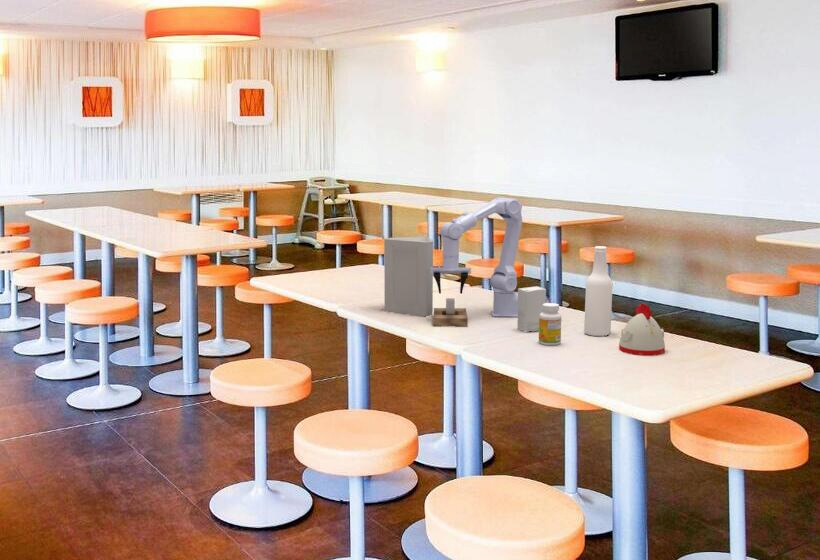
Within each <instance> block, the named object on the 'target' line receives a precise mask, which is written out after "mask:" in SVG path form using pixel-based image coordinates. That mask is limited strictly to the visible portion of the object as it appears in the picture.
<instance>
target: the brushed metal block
mask: <svg viewBox="0 0 820 560" xmlns="http://www.w3.org/2000/svg"><path fill="white" fill-rule="evenodd" d="M455 301H456V300H455V298H451V297H450V298H447V297H446V298H445V308H446V315H454V312H455V308H456V307H455V306H456V305H455V304H456V303H455Z"/></svg>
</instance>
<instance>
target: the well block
mask: <svg viewBox="0 0 820 560" xmlns="http://www.w3.org/2000/svg"><path fill="white" fill-rule="evenodd" d="M468 324H469V323H468V312H467V308H466V307H465V308H463V307H460V308H459V307H455V312H454V315H446V307H433V327H441V326H455V327H454V328H456V327H459V328H461V327H463V328H465V327H466V328H468Z"/></svg>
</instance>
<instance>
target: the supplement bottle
mask: <svg viewBox="0 0 820 560" xmlns="http://www.w3.org/2000/svg"><path fill="white" fill-rule="evenodd" d="M542 310H543V312H542V313H540V315H539V331H538V343H539V344H540V345H542V346H543V345H544V346H558V345H560V344H561V342H562V315H561V313H559V310H560V304H558V303H555V302H554V303H553V302H546V303H544V304H543V306H542Z"/></svg>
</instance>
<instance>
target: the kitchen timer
mask: <svg viewBox="0 0 820 560" xmlns="http://www.w3.org/2000/svg"><path fill="white" fill-rule="evenodd" d="M635 313H636V315H634V316H633V317H632V318H630V319H629V321H628V322H627V323H626V325H625V326H624V328H622V329H621V330H620V331H621V334H620V339H619V343H618V350H619V351H621V352H622V353H625V354H629V355H634V356H647V357H648V356H651V357H652V356H653V357H654V356H659V355H662V354H664V353H665V351H666V350H665V348H666V344H665V339H664V338H665V330H664V329H663V328H661V327H660V325H659V324H658V322H657V321H656V320H655V318H653V317H652V313H653V310H651V307H650V305H647V304H646V303H642V302H641V303H640V305H638V307H637V308H635Z"/></svg>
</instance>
